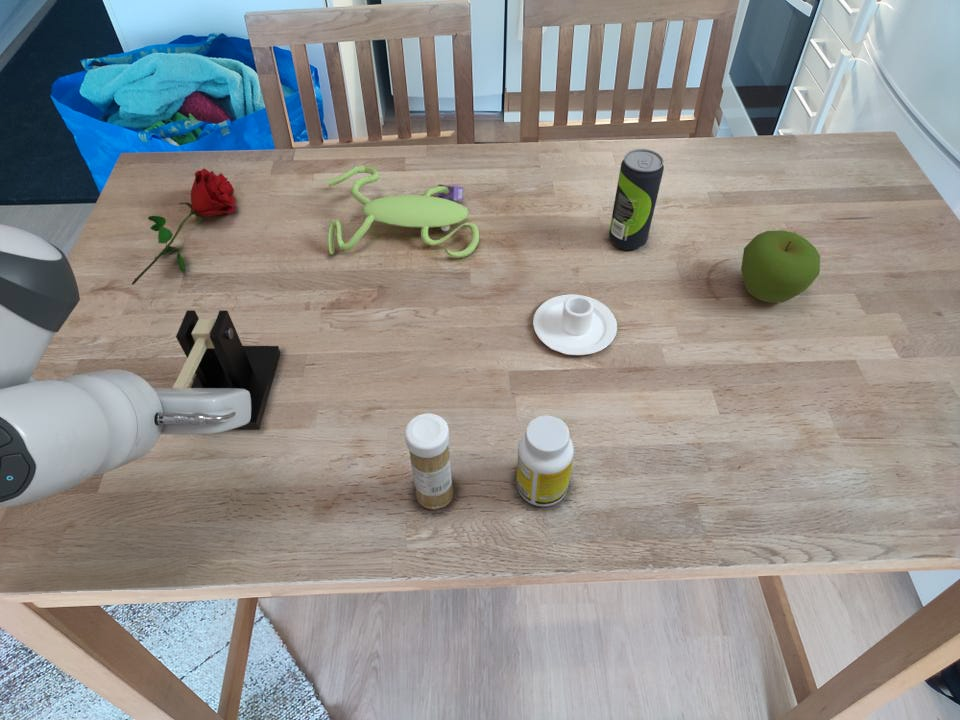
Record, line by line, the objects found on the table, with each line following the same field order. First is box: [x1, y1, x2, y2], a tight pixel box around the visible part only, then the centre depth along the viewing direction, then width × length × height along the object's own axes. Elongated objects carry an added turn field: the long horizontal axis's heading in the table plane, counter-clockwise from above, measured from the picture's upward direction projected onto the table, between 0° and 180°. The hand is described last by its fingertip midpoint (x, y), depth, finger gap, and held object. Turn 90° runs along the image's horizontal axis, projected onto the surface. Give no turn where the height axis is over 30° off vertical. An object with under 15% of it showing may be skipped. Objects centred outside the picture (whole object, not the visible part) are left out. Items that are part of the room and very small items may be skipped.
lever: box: [172, 318, 217, 388], centre depth 76 cm, size 13×5×2 cm, turn 179°
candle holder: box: [532, 293, 618, 356], centre depth 94 cm, size 12×12×4 cm
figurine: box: [327, 165, 480, 259], centre depth 109 cm, size 18×27×6 cm
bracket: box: [175, 309, 281, 430], centre depth 84 cm, size 13×10×13 cm
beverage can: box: [608, 148, 665, 251], centre depth 102 cm, size 6×6×15 cm
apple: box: [740, 230, 821, 304], centre depth 96 cm, size 11×10×10 cm
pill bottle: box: [516, 414, 575, 508], centre depth 74 cm, size 6×6×11 cm
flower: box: [131, 168, 237, 286], centre depth 105 cm, size 9×10×30 cm
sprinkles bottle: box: [404, 412, 455, 511], centre depth 73 cm, size 5×5×13 cm
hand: (179, 398), depth 73 cm, fingers closed on lever, 5 cm apart
